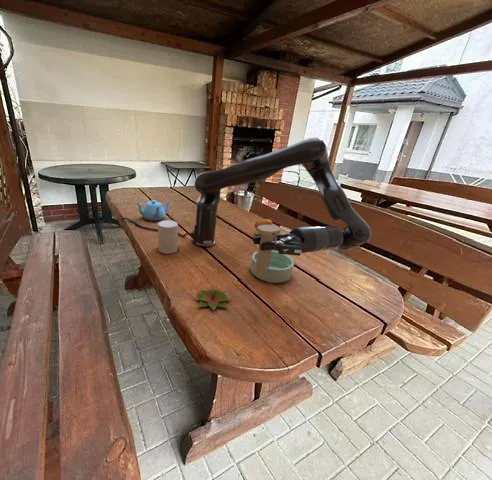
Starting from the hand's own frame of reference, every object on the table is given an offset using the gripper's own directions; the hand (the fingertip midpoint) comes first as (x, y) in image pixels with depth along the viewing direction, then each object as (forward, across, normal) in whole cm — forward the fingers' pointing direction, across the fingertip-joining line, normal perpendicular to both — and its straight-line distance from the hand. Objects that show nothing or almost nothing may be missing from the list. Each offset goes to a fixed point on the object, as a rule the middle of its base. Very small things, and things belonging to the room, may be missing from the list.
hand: (257, 243), depth 73 cm
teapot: (+18, -85, +23) cm, 90 cm away
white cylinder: (+17, -44, +22) cm, 53 cm away
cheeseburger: (-34, -52, +23) cm, 66 cm away
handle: (-3, 0, +11) cm, 11 cm away
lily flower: (+10, -6, +22) cm, 25 cm away
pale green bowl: (-18, -18, +22) cm, 34 cm away
